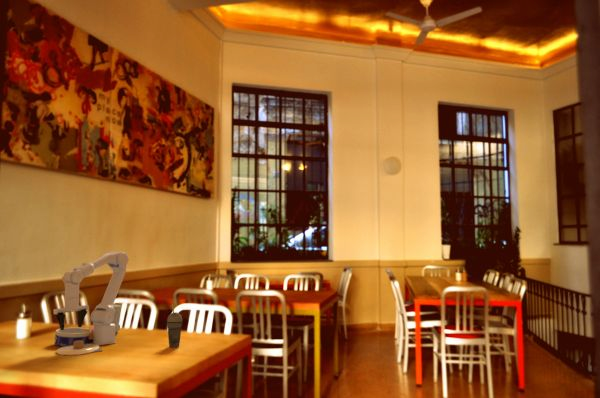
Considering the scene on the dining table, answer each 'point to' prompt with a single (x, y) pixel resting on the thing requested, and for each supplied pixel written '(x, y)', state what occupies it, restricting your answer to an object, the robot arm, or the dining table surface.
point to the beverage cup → (174, 329)
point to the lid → (77, 348)
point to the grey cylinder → (116, 315)
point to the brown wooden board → (93, 332)
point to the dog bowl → (71, 336)
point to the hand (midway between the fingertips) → (71, 328)
